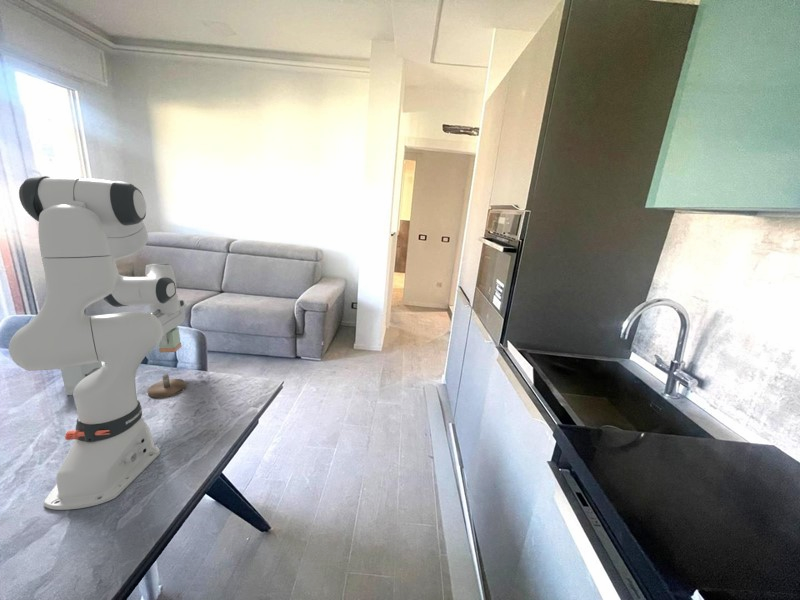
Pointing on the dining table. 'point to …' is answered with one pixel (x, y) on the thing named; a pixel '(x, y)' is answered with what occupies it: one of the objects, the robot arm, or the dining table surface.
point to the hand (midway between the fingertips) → (169, 341)
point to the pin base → (166, 387)
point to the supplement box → (77, 375)
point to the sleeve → (171, 342)
